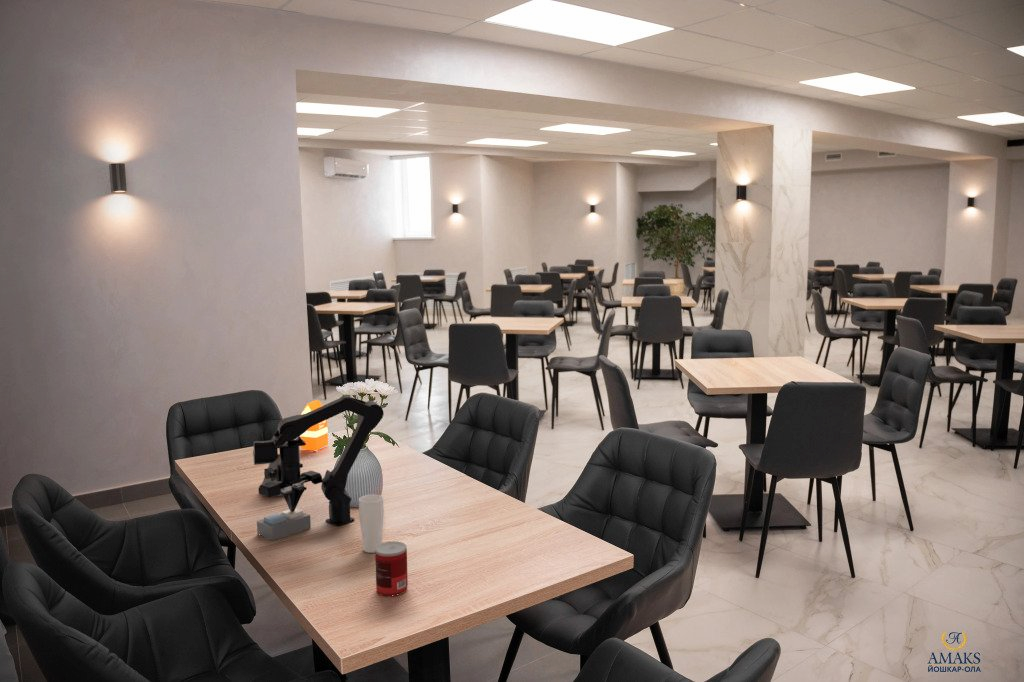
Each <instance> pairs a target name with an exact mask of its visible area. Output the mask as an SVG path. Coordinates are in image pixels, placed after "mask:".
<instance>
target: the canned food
mask: <svg viewBox="0 0 1024 682" xmlns="http://www.w3.org/2000/svg"><path fill="white" fill-rule="evenodd" d="M374 556H375V557H374V558H375V559H374V561H375V563H374V564H375V588H376V592H377V594H378V595H380V594H382V595H386V596H385V597H388V596H391V597H393V596H392V595H397V594H400V593H402V592H404V591H405V590H406V591H407V589H408V582H409V581H408V550H407V544H406V543H404V542H401V541H395V540H394V541H393V540H392V541H386V542H382V544H380V545H378V546H377V547H376V548H375V553H374ZM406 591H405V592H406ZM405 592H404V593H405ZM402 594H403V593H402ZM382 595H381V596H382ZM400 595H401V594H400ZM397 596H398V595H397Z"/></svg>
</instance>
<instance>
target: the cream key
mask: <svg viewBox="0 0 1024 682" xmlns="http://www.w3.org/2000/svg"><path fill="white" fill-rule="evenodd" d="M281 513H282V515H283V516H286V518H287V519H294V518H297V517H300V516H303V513H304V511H303V510H301V509H299V508H297V507H296V508H295V511H293V512H291V511H290V509H289V508H288V509H286V510H284V511H281Z"/></svg>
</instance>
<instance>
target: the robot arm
mask: <svg viewBox="0 0 1024 682" xmlns="http://www.w3.org/2000/svg"><path fill="white" fill-rule="evenodd" d="M346 411H349V412H352V413H354V414H356V415H357V416H358V417H357V422H356V427H355V429H354V431H353V433H352V434H351V437H350V438H349V440H348V443H347V444H346V447H345V448H344V450H343V452H342V454H341V456H340V458H339V460H338V462H337V463H336V466H335V467H334V468H333V469H332V470H331V471H330V469H329V470H328V469H326V471H325V473H324V476H322V474H321V473H320V472H316V471H315V470H308V471H305V472H302V473H301V468H304V467H303V463H301V455H300V453H301V452H300V451H301V450H300V447H301V446H305V445H306V443H305V441H304V440H302V439H301V437H300V435H302V434H303V433H304V432H306V431H307V430H308V429H309V428H310V427H312V426H314V425H316V424H318V423H320V422H323V421H325V420H327V421H328V420H329V419H331V418H334V417H335V416H338V415H339V414H342V413H344V412H346ZM383 417H384V410H383V407H382V406H381V405H379V404H378V403H377V402H375V401H373V400H368V401H364V400H362V399H358V398H355V397H352V396H350V395H347V394H346V395H344V394H343V395H341V397H339V398H337V399H334V400H332V401H330V402H328V403H326V404H324V405H322V406H321V407H319V408H317V409H315V410H312V411H310V412H308V413H306V414H302V415H301V414H295V415H292V416H288V417H284V418H282V419H281V420H280V421H279V422H278V425H277V430H276V432H275V433H274V434H273V436H272V437H271V439H270V440H255V441H253V450H252V457H253V459H252V460H253V465H254V466H257V465H266V464H268V465H269V464H270V463H274V461H276V459H278V454H280V464H278V465H277V469H275V470H273V468H272V467H271V468H268V467H267V468H265V469H264V472H263V473H264V474H263V475H264V477H265V478H266V479H271V481H274V480H275V479H276V481H278V482H279V481H281V483H279V484H276V483H273V482H268V483H264V484H262V483H260V485H259V486H258V488H257V489H258V490H257V491H258V495H260V496H263V497H266V498H273V497H278V496H277V495H279V494H280V493H281V494H282V495H283V496H282V497H283V498H284V500H285V502H286V505H287V507H288V510H289V509H290V511H291V512H293V511H295V508H296V509H297V506H298V504H299V501H300V499H301V497H302V496H303V494H304V492H305V491H306V490H307V486H305V485H304V484H306V483H308V482H311V484H313V485H318V484H321V485H320V488H321V489H320V490H321V491H322V493H323V495H324V497H325V498H326V499H327V500H328V513H329V514H328V517H329V518H326V519H325V523H326V522H327V523H329V524H332V525H334V526H337V527H340V526H343V525H345V524H348V523H351V522H354V521H355V518H354V517H351V505H350V504H351V502H352V498H351V496H350V494H349V493H348V491H347V490H346V487H347V482H348V476H349V473H350V471H351V469H352V467H353V466H354V463H355V461H356V460H357V457H358V456H359V453H360V452H361V449H362V448H363V446H364V444H365V442H366V440H367V438H368V436H369V434H370V433H371V432H372V431H373V430H375V428H376V427H377V426H378V424H379V423H380V422H381V421H382V419H383ZM278 449H279V453H278Z"/></svg>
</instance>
